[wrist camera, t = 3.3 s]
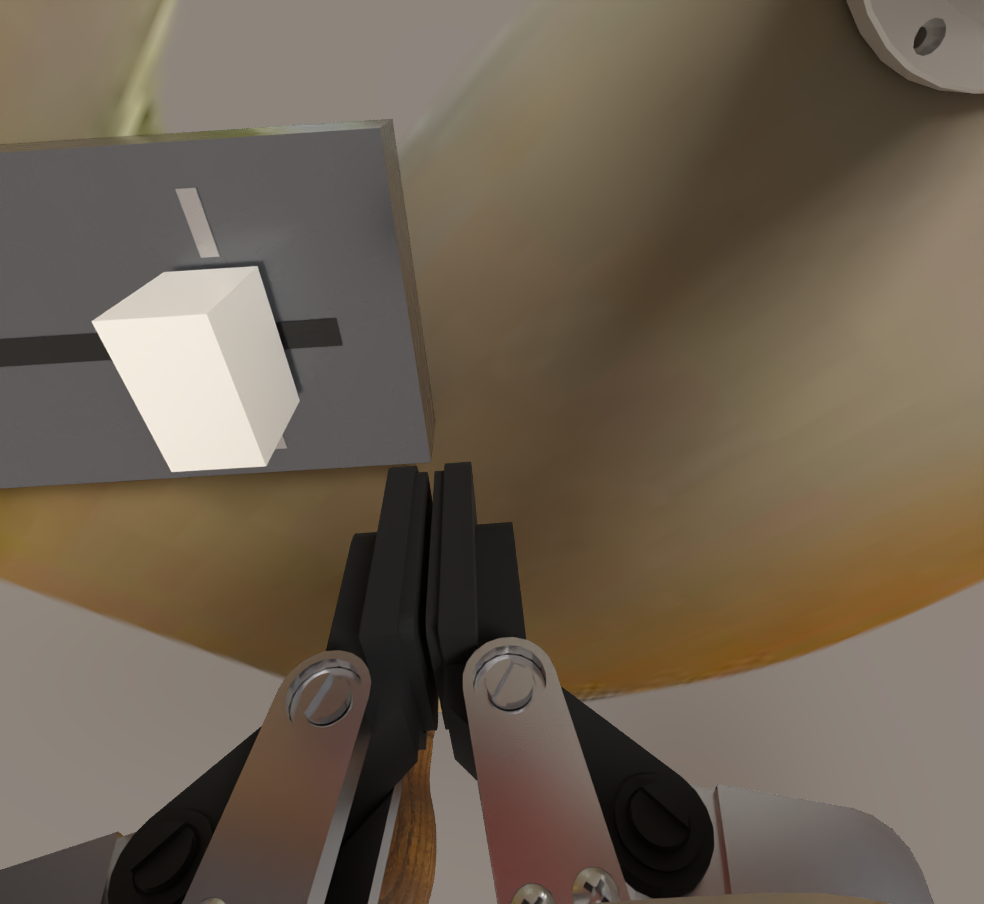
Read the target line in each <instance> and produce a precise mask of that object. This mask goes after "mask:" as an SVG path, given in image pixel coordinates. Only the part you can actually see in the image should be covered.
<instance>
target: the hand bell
mask: <svg viewBox="0 0 984 904" xmlns="http://www.w3.org/2000/svg"><path fill="white" fill-rule="evenodd" d="M440 712H442V710H441V705H440V700H439V705H438V713H440ZM434 732H435V730H434V731H427V743H426V750H418V762H417V763H416V764H415V765H414V766H413V767H412V768H411V769H410V770H409V771H408V773H407V774H406V775H405V776H404V777H403V784H402V792H401V797H400V802H399V806H398V811H397V816H396V820H395V825H394V830H393V834H392V839H391V844H390V848H389V853H388V858H387V862H386V867H385V872H384V876H383V881H382V886H381V890H380V895H379V899H378V904H428V903H429V899H430V896H431V891H432V887H433V882H434V876H435V865H436V824H435V816H434V809H433V804H432V799H431V794H430V782H429V778H430V763H431V755H432V747H433V737H434Z"/></svg>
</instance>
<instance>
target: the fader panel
mask: <svg viewBox="0 0 984 904" xmlns="http://www.w3.org/2000/svg"><path fill="white" fill-rule="evenodd" d="M251 266H258V269H259V273H260V276H261V279H262V282H263V285H264V289H265V292H266V295H267V298H268V301H269V304H270V308H271V311H272V314H273V317H274V320H275V324H276V327H277V330H278V333H279V336H280V339H281V343H282V346H283V349H284V352H285V355H286V359H287V362H288V365H289V368H290V371H291V375H292V378H293V381H294V384H295V387H296V390H297V394H298V397H299V400H300V401H299V403H298V405H297V407H296V409H295V411H294V413H293V415H292V417H291V419H290V421H289V423H288V425H287V427H286V429H285V431H284V433H283V435H282V437H281V438H280V440H279V442H278V444H277V446H276V448H275V450H274V452H273V454H272V456H271V458H270V460H269V462H268V464H267V466H264V467H247V468H231V469H214V470H198V471H181V472H171V470H170V468H169V466H168V465H167V463H166V461H165V459H164V457H163V455H162V453H161V451H160V449H159V448H158V446H157V444H156V442H155V440H154V438H153V436H152V434H151V433H150V431H149V429H148V427H147V425H146V423H145V421H144V419H143V418H142V416H141V414H140V412H139V410H138V408H137V406H136V404H135V402H134V401H133V399H132V397H131V395H130V393H129V391H128V389H127V387H126V386H125V384H124V382H123V380H122V378H121V376H120V374H119V372H118V371H117V369H116V367H115V365H114V363H113V361H112V359H111V357H110V355H109V354H108V352H107V350H106V348H105V346H104V344H103V342H102V340H101V339H100V337H99V335H98V333H97V331H96V329H95V327H94V325H93V324H92V322H91V321H93V320H94V319H96V318H97V317H99V316H100V315H101V314H103V313H104V312H106V311H107V310H109V309H110V308H112V307H113V306H115V305H116V304H118V303H119V302H121V301H122V300H124V299H125V298H127V297H128V296H130V295H131V294H132V293H134V292H135V291H137V290H138V289H140V288H141V287H143V286H144V285H146V284H147V283H149V282H150V281H152V280H153V279H155V278H156V277H158V276H159V275H160V274H162V273H163V272H172V271H188V270H204V269H220V268H235V267H251ZM434 429H435V418H434V411H433V404H432V397H431V390H430V383H429V376H428V369H427V362H426V354H425V347H424V340H423V333H422V326H421V319H420V312H419V305H418V297H417V290H416V283H415V276H414V269H413V262H412V255H411V248H410V241H409V233H408V226H407V219H406V212H405V205H404V198H403V191H402V184H401V176H400V169H399V162H398V155H397V148H396V141H395V134H394V127H393V119H383V120H369V121H353V122H338V123H322V124H307V125H292V126H277V127H262V128H246V129H231V130H216V131H200V132H185V133H170V134H154V135H139V136H124V137H109V138H93V139H78V140H63V141H48V142H32V143H17V144H2V145H0V488H16V487H32V486H49V485H65V484H82V483H99V482H115V481H132V480H148V479H165V478H181V477H198V476H214V475H231V474H247V473H264V472H280V471H297V470H313V469H330V468H346V467H363V466H379V465H396V464H412V463H429V462H431V458H432V449H433V439H434Z"/></svg>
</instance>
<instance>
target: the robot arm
mask: <svg viewBox="0 0 984 904" xmlns="http://www.w3.org/2000/svg"><path fill="white" fill-rule="evenodd" d="M846 1H847V4H848V6H849V8H850V11H851V13H852V16H853V18H854V20H855V23H856V25H857V28H858V30H859V32H860V34H861V35H862V37H863V38H864V39H865V41H866V42H867V43H868V44H869V46H870V47H871V48H872V50H873V51H874V52H875V54H876V55H877V56H878V58H879V59H880V60H881V61H882V62H883V63H885V64H886V65H887V66H889V67H890V68H892V69H893V70H894V71H896V72H897V73H899V74H900V75H901V76H903V77H904V78H906V79H907V80H909V81H912V82H915V83H918V84H921V85H924V86H927V87H930V88H933V89H936V90H939V91H952V92H962V93H973V94H979V93H984V0H846ZM916 34H917V35H916ZM915 36H916V39H915V41H914V38H915ZM439 700H440V705H441V710H442V715H443V720H444V724H445V729H446V730H447V729H449V733H450V738H451V743H452V748H453V753H454V757H455V760H457V762H459V763H460V764H461V765H462V766H463V767H464V768H465V769H466V770H467V771H468V772H469V773H470V774H471V775H472V776H473V777H474V778H475V779H476V780H477V782H478V787H479V794H480V800H481V806H482V812H483V819H484V825H485V830H486V836H487V843H488V849H489V855H490V861H491V867H492V873H493V879H494V885H495V891H496V897H497V903H498V904H934V901H933V899H932V897H931V894H930V891H929V888H928V885H927V883H926V880H925V877H924V875H923V872H922V870H921V868H920V866H919V864H918V862H917V861H916V859H915V857H914V855H913V853H912V852H911V850H910V848H909V847H908V846H907V845H906V844H905V842H904V841H903V840H902V839H901V838H900V837H899V836H898V835H897V834H896V833H895V832H894V830H893V829H892V828H890V827H889V826H887V825H886V824H884V823H883V822H882V821H880V820H879V819H877V818H876V817H874V816H873V815H871V814H868V813H865V812H862V811H859V810H857V809H854V808H849V807H844V806H838V805H832V804H826V803H821V802H815V801H810V800H804V799H799V798H793V797H787V796H781V795H776V794H770V793H764V792H759V791H753V790H748V789H742V788H736V787H731V786H725V785H719V784H717V786H716V788H715V789H711V788H705V787H699V786H693V785H690V784H688V783H687V782H686V781H685V780H684V779H683V778H682V777H681V776H680V775H678V774H677V773H676V772H674V771H673V770H672V769H670V768H669V767H668V766H666V765H665V764H664V763H662V762H661V761H660V760H658V759H657V758H656V757H654V756H653V755H651V754H650V753H649V752H648V751H646V750H645V749H644V748H642V747H641V746H640V745H638V744H637V743H636V742H634V741H633V740H632V739H630V738H629V737H628V736H626V735H625V734H624V733H622V732H621V731H620V730H618V729H617V728H616V727H615V726H613V725H612V724H611V723H609V722H608V721H607V720H605V719H604V718H603V717H601V716H600V715H599V714H597V713H596V712H595V711H593V710H592V709H590V708H589V707H588V706H587V705H585V704H584V703H583V702H581V701H580V700H579V699H577V698H576V697H575V696H573V695H572V694H571V693H569V692H568V691H567V690H565V689H564V688H563V687H561V686H560V682H559V679H558V676H557V673H556V670H555V668H554V666H553V664H552V662H551V660H550V658H549V656H548V655H547V654H546V653H545V652H544V651H543V650H542V649H541V648H540V647H539V646H537V645H535V644H534V643H532V642H530V641H528V640H526V635H525V626H524V618H523V609H522V601H521V592H520V584H519V575H518V567H517V558H516V550H515V541H514V533H513V525H512V522H507V523H494V524H480V525H477V517H476V507H475V496H474V486H473V475H472V465H471V462H460V463H446V464H445V467H444V471H435V476H434V491H433V502H432V496H431V489H430V483H429V477H428V473H427V472H418V468H417V466H405V467H392V468H389V471H388V476H387V481H386V487H385V492H384V498H383V503H382V509H381V514H380V520H379V526H378V531H377V532H372V533H359V534H355V535H354V536H353V539H352V542H351V546H350V550H349V554H348V559H347V563H346V567H345V572H344V576H343V580H342V584H341V589H340V593H339V597H338V602H337V606H336V610H335V615H334V619H333V623H332V627H331V632H330V636H329V640H328V645H327V649H326V651H325V652H322V653H319V654H316V655H313V656H311V657H309V658H308V659H306V660H305V661H303V662H301V663H300V664H298V665H297V666H296V667H295V668H294V669H293V670H292V671H291V672H290V673H289V674H288V675H287V676H286V678H285V679H284V681H283V683H282V684H281V686H280V688H279V689H278V692H277V694H276V696H275V698H274V701H273V703H272V705H271V707H270V709H269V712H268V714H267V716H266V719H265V721H264V723H263V725H262V726H261V727H260V728H259V729H258V730H256V731H255V732H254V733H253V734H252V735H250V736H249V737H248V738H247V739H246V740H244V741H243V742H242V743H241V744H239V745H238V746H237V747H236V748H235V749H233V750H232V751H231V752H230V753H229V754H227V755H226V756H225V757H224V758H223V759H221V760H220V761H219V762H218V763H217V764H215V765H214V766H213V767H212V768H210V769H209V770H208V771H207V772H206V773H205V774H203V775H202V776H201V777H200V778H198V779H197V780H196V781H195V782H194V783H192V784H191V785H190V786H189V787H187V788H186V789H185V790H184V791H183V792H181V793H180V794H179V795H178V796H177V797H175V798H174V799H173V800H172V801H171V802H169V803H168V804H167V805H166V806H165V807H163V808H162V809H161V810H160V811H159V812H157V813H156V814H155V815H154V816H152V817H151V818H150V819H149V820H148V821H147V822H146V823H145V824H144V825H143V826H142V827H141V828H140V829H139V830H138V831H137V832H134V833H131V834H128V835H125V836H123V835H122V834H121V833H119V832H115V833H112V834H109V835H106V836H102V837H99V838H96V839H93V840H90V841H87V842H84V843H81V844H78V845H75V846H72V847H69V848H66V849H63V850H59V851H56V852H54V853H50V854H47V855H44V856H41V857H38V858H35V859H32V860H29V861H26V862H23V863H20V864H17V865H13V866H10V867H7V868H4V869H1V870H0V904H378V899H379V895H380V890H381V886H382V881H383V876H384V872H385V867H386V862H387V858H388V853H389V848H390V844H391V839H392V834H393V830H394V825H395V820H396V816H397V811H398V806H399V802H400V797H401V792H402V784H403V777H404V776H405V775H406V774H407V773H408V771H409V770H410V769H411V768H412V767H413V766H414V765H415V764H416V763H417V762H418V750H426V743H427V731H434V730H437V727H438V705H439Z"/></svg>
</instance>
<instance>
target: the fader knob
mask: <svg viewBox="0 0 984 904" xmlns="http://www.w3.org/2000/svg"><path fill="white" fill-rule="evenodd" d="M91 322H92V324H93V325H94V327H95V329H96V331H97V333H98V335H99V337H100V339H101V340H102V342H103V344H104V346H105V348H106V350H107V352H108V354H109V355H110V357H111V359H112V361H113V363H114V365H115V367H116V369H117V371H118V372H119V374H120V376H121V378H122V380H123V382H124V384H125V386H126V387H127V389H128V391H129V393H130V395H131V397H132V399H133V401H134V402H135V404H136V406H137V408H138V410H139V412H140V414H141V416H142V418H143V419H144V421H145V423H146V425H147V427H148V429H149V431H150V433H151V434H152V436H153V438H154V440H155V442H156V444H157V446H158V448H159V449H160V451H161V453H162V455H163V457H164V459H165V461H166V463H167V465H168V466H169V468H170V470H171V472H181V471H198V470H214V469H231V468H247V467H264V466H267V464H268V462H269V460H270V458H271V456H272V454H273V452H274V450H275V448H276V446H277V444H278V442H279V440H280V438H281V437H282V435H283V433H284V431H285V429H286V427H287V425H288V423H289V421H290V419H291V417H292V415H293V413H294V411H295V409H296V407H297V405H298V403H299V401H300V400H299V397H298V394H297V390H296V387H295V384H294V381H293V378H292V375H291V371H290V368H289V365H288V362H287V359H286V355H285V352H284V349H283V346H282V343H281V339H280V336H279V333H278V330H277V327H276V324H275V320H274V317H273V314H272V311H271V308H270V304H269V301H268V298H267V295H266V292H265V289H264V285H263V282H262V279H261V276H260V273H259V269H258V266H251V267H235V268H220V269H204V270H188V271H172V272H163V273H162V274H160V275H159V276H158V277H156V278H155V279H153V280H152V281H150V282H149V283H147V284H146V285H144V286H143V287H141V288H140V289H138V290H137V291H135V292H134V293H132V294H131V295H130V296H128V297H127V298H125V299H124V300H122V301H121V302H119V303H118V304H116V305H115V306H113V307H112V308H110V309H109V310H107V311H106V312H104V313H103V314H101V315H100V316H99V317H97V318H96V319H94V320H93V321H91Z"/></svg>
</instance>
